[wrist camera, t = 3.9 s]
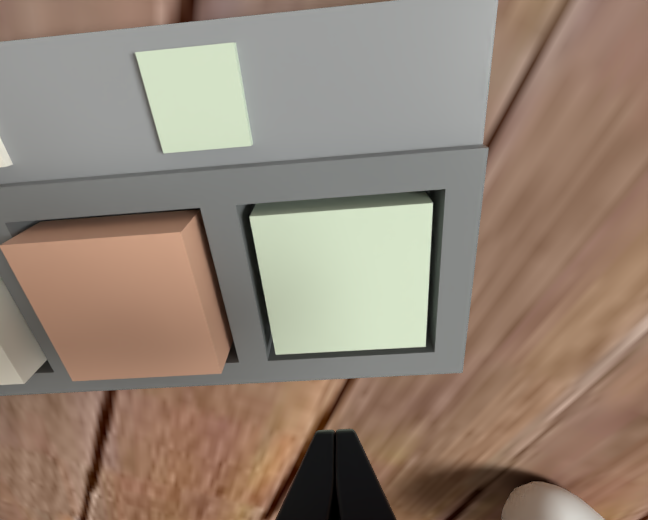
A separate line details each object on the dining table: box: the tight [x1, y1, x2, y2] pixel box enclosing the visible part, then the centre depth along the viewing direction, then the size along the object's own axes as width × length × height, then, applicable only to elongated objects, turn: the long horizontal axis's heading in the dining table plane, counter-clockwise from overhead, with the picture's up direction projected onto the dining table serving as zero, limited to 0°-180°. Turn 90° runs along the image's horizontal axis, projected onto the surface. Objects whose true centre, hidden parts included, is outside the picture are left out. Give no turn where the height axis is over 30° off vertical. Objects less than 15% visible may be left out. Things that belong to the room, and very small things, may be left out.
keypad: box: [0, 0, 498, 396], centre depth 15 cm, size 13×25×4 cm, turn 95°
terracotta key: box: [0, 209, 233, 381], centre depth 14 cm, size 6×6×2 cm
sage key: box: [249, 191, 433, 355], centre depth 15 cm, size 6×6×2 cm
